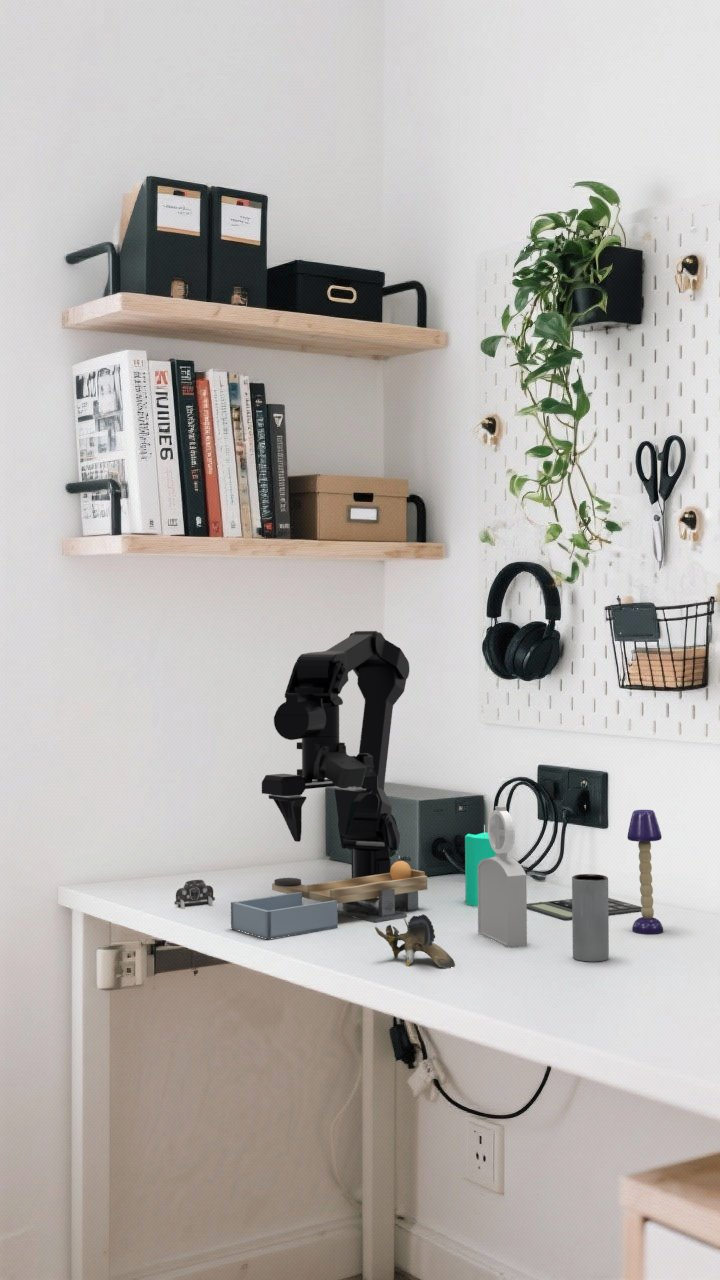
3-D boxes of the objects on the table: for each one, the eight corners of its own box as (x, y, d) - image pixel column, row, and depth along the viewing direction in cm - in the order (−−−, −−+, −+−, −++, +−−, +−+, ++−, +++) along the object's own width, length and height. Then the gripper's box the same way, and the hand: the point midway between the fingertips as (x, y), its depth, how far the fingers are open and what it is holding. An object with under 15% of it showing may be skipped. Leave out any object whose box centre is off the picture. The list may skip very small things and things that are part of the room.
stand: (387, 902, 213) (387, 875, 213) (432, 912, 205) (432, 884, 205) (331, 911, 206) (330, 883, 206) (375, 922, 198) (374, 893, 198)
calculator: (648, 907, 205) (564, 917, 198) (648, 913, 205) (564, 923, 198) (601, 894, 215) (520, 903, 208) (601, 900, 215) (520, 909, 208)
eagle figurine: (368, 957, 171) (429, 953, 166) (377, 904, 175) (437, 898, 170) (401, 980, 176) (461, 976, 171) (409, 928, 180) (468, 923, 175)
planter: (600, 963, 172) (600, 881, 172) (567, 959, 174) (566, 878, 174) (614, 956, 176) (613, 875, 176) (581, 952, 178) (580, 872, 178)
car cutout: (181, 915, 207) (181, 885, 207) (166, 907, 213) (166, 878, 213) (272, 905, 214) (272, 876, 214) (255, 898, 220) (255, 870, 220)
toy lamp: (625, 932, 189) (624, 811, 189) (631, 926, 194) (630, 807, 194) (661, 935, 188) (660, 813, 188) (665, 928, 192) (664, 809, 192)
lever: (365, 876, 219) (364, 860, 219) (427, 889, 207) (427, 872, 207) (269, 890, 207) (269, 873, 207) (329, 905, 195) (329, 886, 195)
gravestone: (508, 947, 181) (507, 811, 181) (478, 933, 190) (476, 803, 190) (526, 945, 182) (525, 810, 182) (496, 931, 191) (494, 802, 191)
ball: (385, 882, 208) (385, 860, 208) (402, 879, 210) (401, 858, 210) (399, 884, 205) (399, 863, 205) (415, 882, 207) (415, 861, 207)
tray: (231, 929, 194) (230, 902, 194) (299, 917, 201) (299, 892, 201) (267, 939, 187) (267, 912, 187) (337, 927, 194) (337, 900, 194)
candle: (504, 899, 214) (504, 822, 214) (504, 907, 208) (504, 827, 208) (465, 899, 215) (465, 822, 215) (465, 906, 209) (464, 827, 209)
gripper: (305, 741, 197) (306, 850, 197) (401, 735, 209) (402, 838, 209) (259, 737, 206) (259, 842, 206) (354, 732, 218) (354, 831, 218)
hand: (321, 838), depth 209 cm, fingers open, 9 cm apart
